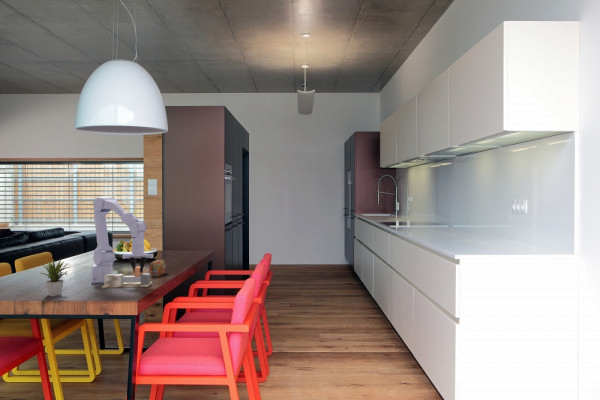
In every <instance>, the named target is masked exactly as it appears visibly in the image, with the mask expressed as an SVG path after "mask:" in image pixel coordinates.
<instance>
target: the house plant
mask: <svg viewBox="0 0 600 400" xmlns="http://www.w3.org/2000/svg"><path fill="white" fill-rule="evenodd" d="M51 260H52V263H50V261H48V262H47V264H45V265H44V264H41V266H42V267H44V269H45V270H46V271H47V274H46V273H44V272H41V273H39V274H40V275H44V276H47V279H50V280H47V281H45V284H46V289H47V290H46V291H47V294H48V296H49V297H56V296H57V295H58V296H61V295H62V292H63V285H64V279H61V278H62V277H63V275H66V276H68V270H66V269H69V268H71V266H68V265H70V262H69V263H65V261H62V259H60V260H59V261H58V263H57V264H56V263H55V262H54V258H52V259H51ZM63 270H66V271H63ZM70 271H71V270H69V272H70ZM58 296H57V297H58Z"/></svg>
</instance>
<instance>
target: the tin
mask: <svg viewBox="0 0 600 400" xmlns="http://www.w3.org/2000/svg"><path fill="white" fill-rule="evenodd" d="M166 270H167V262H166V260H164V259H158V260H154V261H152V262H150V263H149V273H150V276H152V277H159V276H161V275H164V274H165V273H166Z"/></svg>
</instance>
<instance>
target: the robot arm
mask: <svg viewBox="0 0 600 400" xmlns="http://www.w3.org/2000/svg"><path fill="white" fill-rule="evenodd" d="M92 204H93V205H92V206H93V215H94V216H93V218H94V225H95V235H96V236H95V237H96V243H97V246H96V248H95V249H94V250H93V258H92V259H93V263H94V264H93V265H92V268H91V283H92V284H98V283H99V284H100V283H103V284H104V276H105V275H107V274H113V264H114V262H115V260H116V254H115V251H114V248H113V247H112V246H110V243H109V236H108V235H109V234H108V226H107V225H108V224H107V219H106V218H107V217H106V216H107V215H108V214H109V213H110V212H111V211H113V212H114V213H115V214H117V215H118V216H119V217H120V218H121V220H120V221H121V222H122V223H123V224H125V225H126V226H127V227H128V230H129V232H130V237H131V253H127V254H126V253H125V254H124V253H123V254H122V259H124V260H125V259H128V262H129V264H130V265H131V268H132V270H133V274H135V267H137V266H136V265H137V259H139V263H140V264H139V265H140V266H139V267H140V273H141V274H143V273H144V267H145V264H146V262H147V260H148V259H153V258H154V253H145V232H146V230H147V223H146V222H145V221H143V220H140V219H139V218H137V217H136V216H135V215H134V214H133V213H132V212H128V211H126V210H125V209H124V208H123V207H122V206H121V205H120V204H119V202H118V200H117V199H116V198H114V197H111V196H109V197H102V196H97V197H96V198H95V199H94V200H93V202H92Z"/></svg>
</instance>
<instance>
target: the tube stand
mask: <svg viewBox="0 0 600 400" xmlns="http://www.w3.org/2000/svg"><path fill="white" fill-rule="evenodd" d="M122 276H125V275H124V273H112V274H107V275H105V276H104V283H103V284H104V285H102V286H101V288H102V289H104V288H105V289H106V288H143V287H148V288H149V286H151V285H152V284H153V281H150V283H149V284H148V285H141V282H139V283H122Z"/></svg>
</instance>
